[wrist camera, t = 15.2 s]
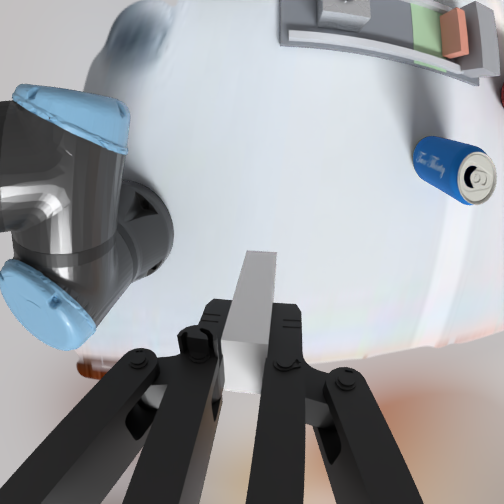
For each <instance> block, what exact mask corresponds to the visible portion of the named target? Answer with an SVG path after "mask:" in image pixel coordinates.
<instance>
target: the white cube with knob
mask: <svg viewBox="0 0 504 504" xmlns="http://www.w3.org/2000/svg"><path fill="white" fill-rule="evenodd" d="M370 18H371V12H370V0H317V27H326V28H335V29H342V30H349V31H355V32H359V31H360V30H361V28H362V27H363V26H364V25H365V24H366V23H367V22H368V21H369V20H370Z"/></svg>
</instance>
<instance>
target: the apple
mask: <svg viewBox="0 0 504 504" xmlns="http://www.w3.org/2000/svg"><path fill="white" fill-rule="evenodd" d="M501 99H502V104H503V107H504V84H503V87H502V91H501Z"/></svg>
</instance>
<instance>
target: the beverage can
mask: <svg viewBox="0 0 504 504" xmlns="http://www.w3.org/2000/svg"><path fill="white" fill-rule="evenodd" d="M413 164H414V168H415V171H416V172H417V174H418V175H419V177H420V178H421V179H423V180H424V181H426V182H428V183H429V184H431V185H433V186H435V187H436V188H438V189H440V190H441V191H443V192H445V193H446V194H448V195H450V196H451V197H453V198H455V199H456V200H458V201H459V202H461V203H463V204H466V205H480V204H483V203H484V202H486V201H487V200H488V199H489V198H490V197H491V196H492V194H493V192H494V190H495V187H496V181H497V173H496V168H495V165H494V163H493V161H492V160H491V158H490V157H489V156H488V155H487V154H486V153H485V152H484V151H483V150H482V149H480V148H479V147H476V146H473V145H469V144H465V143H461V142H457V141H453V140H449V139H445V138H440V137H435V136H429V137H425V138H423V139H422V140H421V141H420V142H419V143H418V144H417V146H416V147H415V150H414V154H413Z"/></svg>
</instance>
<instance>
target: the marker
mask: <svg viewBox="0 0 504 504" xmlns="http://www.w3.org/2000/svg"><path fill="white" fill-rule="evenodd" d="M439 17H440V26H441V38H442V56H443V57H446V58H449V59H451V58H455V57H459V56H463V55H467V54H469V48H468V36H467V27H466V19H465V12H464V10H462V9H459V8H457V7H456V8H454V9H452V10H450V11H449V12H447V13H445V14H443V15H441V16H439Z"/></svg>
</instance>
